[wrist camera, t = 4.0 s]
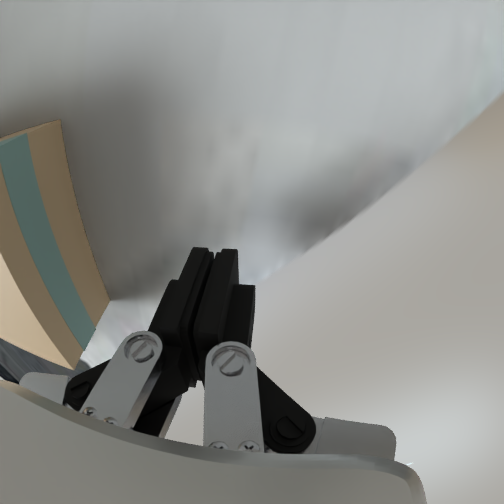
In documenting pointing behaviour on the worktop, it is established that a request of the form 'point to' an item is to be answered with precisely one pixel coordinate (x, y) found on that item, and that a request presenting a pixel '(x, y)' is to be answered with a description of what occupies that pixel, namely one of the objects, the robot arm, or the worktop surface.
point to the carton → (45, 251)
